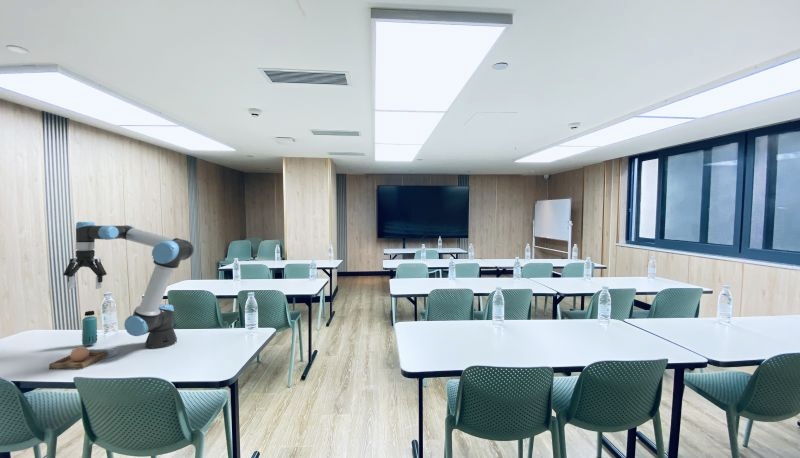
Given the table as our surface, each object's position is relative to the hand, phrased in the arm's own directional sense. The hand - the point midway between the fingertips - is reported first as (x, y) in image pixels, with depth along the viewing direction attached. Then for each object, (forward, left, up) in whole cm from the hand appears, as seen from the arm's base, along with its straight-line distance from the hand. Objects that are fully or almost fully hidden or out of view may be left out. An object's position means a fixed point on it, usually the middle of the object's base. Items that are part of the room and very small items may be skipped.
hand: (85, 288), depth 182 cm
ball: (-10, +16, -34) cm, 39 cm away
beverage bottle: (+4, -8, -35) cm, 36 cm away
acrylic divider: (-10, +7, -35) cm, 37 cm away
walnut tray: (-10, +16, -35) cm, 39 cm away
